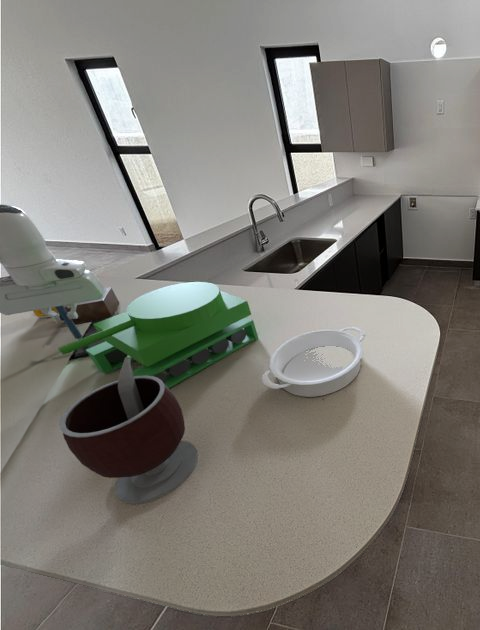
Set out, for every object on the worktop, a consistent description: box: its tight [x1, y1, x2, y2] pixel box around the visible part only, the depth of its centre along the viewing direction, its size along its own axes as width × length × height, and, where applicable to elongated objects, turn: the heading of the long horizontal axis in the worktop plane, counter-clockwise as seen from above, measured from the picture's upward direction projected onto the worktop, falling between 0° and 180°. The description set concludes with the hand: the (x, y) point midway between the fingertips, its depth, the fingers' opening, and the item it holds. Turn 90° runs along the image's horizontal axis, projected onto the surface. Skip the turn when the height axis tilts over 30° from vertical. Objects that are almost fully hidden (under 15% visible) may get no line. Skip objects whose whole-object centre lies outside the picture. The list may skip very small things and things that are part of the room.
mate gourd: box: [58, 357, 199, 505], centre depth 56 cm, size 16×14×20 cm
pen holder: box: [63, 287, 120, 325], centre depth 108 cm, size 11×11×6 cm
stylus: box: [55, 306, 83, 340], centre depth 89 cm, size 2×2×15 cm
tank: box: [58, 281, 259, 389], centre depth 85 cm, size 24×35×16 cm
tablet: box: [62, 317, 111, 362], centre depth 96 cm, size 16×21×1 cm
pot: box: [261, 326, 367, 398], centre depth 84 cm, size 29×22×5 cm
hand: (67, 319), depth 90 cm, fingers closed on stylus, 1 cm apart
